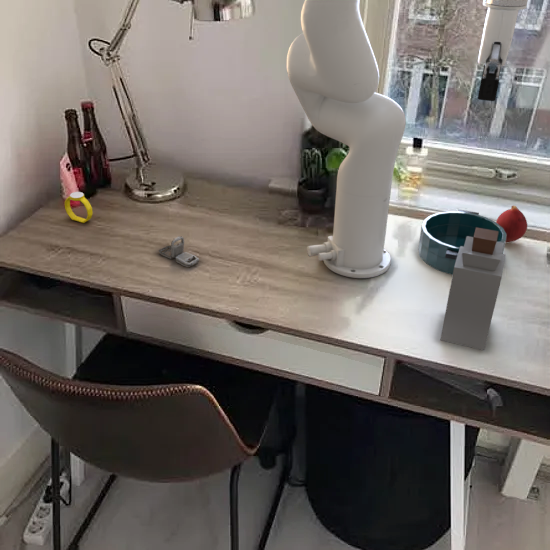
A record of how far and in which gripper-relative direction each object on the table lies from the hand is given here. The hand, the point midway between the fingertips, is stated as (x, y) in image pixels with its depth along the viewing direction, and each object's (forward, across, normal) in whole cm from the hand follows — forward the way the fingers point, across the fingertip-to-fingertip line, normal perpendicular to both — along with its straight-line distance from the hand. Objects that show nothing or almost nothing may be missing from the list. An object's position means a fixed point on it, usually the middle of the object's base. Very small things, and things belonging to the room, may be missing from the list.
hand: (487, 92), depth 125 cm
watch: (+26, +31, -75) cm, 85 cm away
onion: (+26, +10, +9) cm, 30 cm away
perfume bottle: (+26, +43, +3) cm, 51 cm away
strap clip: (+26, +37, -50) cm, 67 cm away
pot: (+26, +18, 0) cm, 32 cm away
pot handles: (+22, +18, 0) cm, 29 cm away
